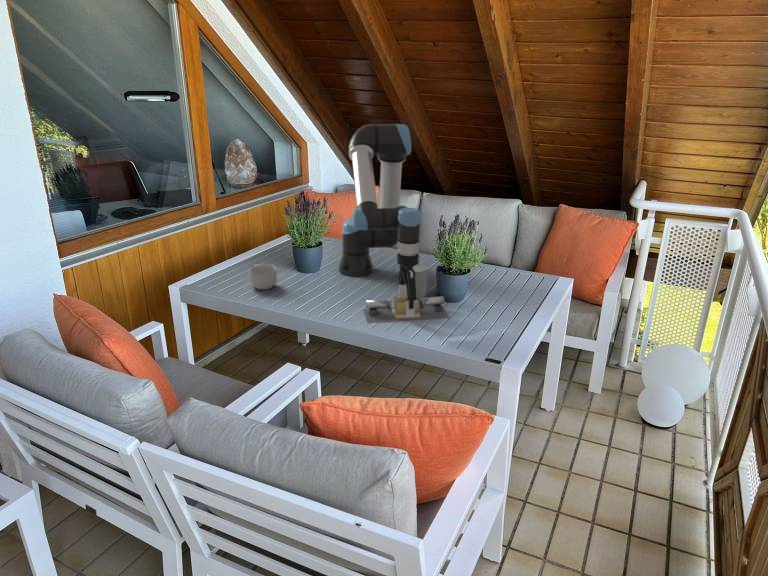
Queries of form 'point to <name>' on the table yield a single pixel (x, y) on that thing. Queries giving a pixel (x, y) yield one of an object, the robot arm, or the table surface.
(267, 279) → the teacup
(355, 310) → the table surface
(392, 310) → the off-white flat plate
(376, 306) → the shaft
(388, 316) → the board
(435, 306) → the shaft
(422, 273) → the speckled tin can
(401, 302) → the coupler
